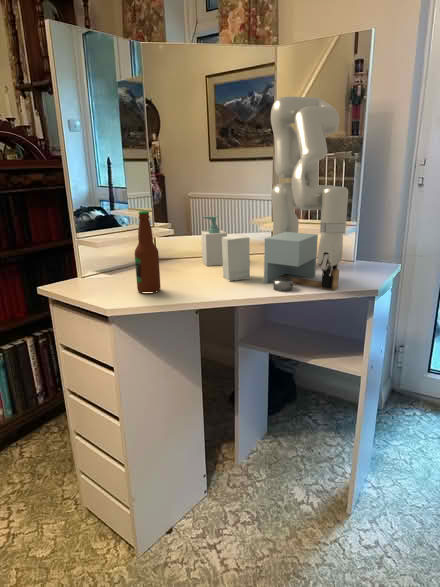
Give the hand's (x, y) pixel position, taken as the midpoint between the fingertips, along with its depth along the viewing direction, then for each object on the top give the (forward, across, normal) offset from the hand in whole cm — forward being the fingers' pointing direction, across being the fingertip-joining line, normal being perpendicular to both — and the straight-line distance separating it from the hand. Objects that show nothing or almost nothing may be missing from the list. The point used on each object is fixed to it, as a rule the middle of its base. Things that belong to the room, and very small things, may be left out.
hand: (329, 285), depth 129 cm
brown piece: (+1, 0, -7) cm, 7 cm away
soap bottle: (+1, -11, -52) cm, 53 cm away
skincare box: (+1, +5, -32) cm, 32 cm away
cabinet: (+1, -3, -15) cm, 15 cm away
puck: (+1, +8, -12) cm, 15 cm away
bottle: (+1, +32, -48) cm, 57 cm away
